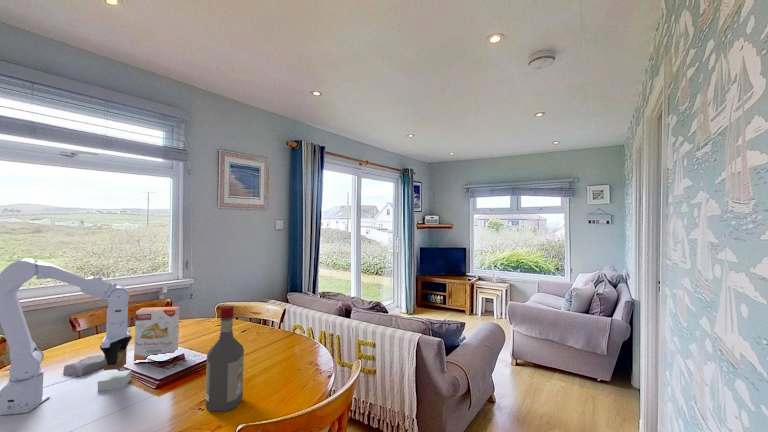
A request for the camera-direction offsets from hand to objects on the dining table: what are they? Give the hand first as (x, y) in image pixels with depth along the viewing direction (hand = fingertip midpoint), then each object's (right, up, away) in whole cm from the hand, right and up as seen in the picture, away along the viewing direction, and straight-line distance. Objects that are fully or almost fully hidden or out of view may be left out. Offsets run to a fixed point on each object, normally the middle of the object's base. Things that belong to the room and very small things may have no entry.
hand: (115, 361), depth 117 cm
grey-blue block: (0, -8, 0) cm, 8 cm away
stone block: (-21, -8, +12) cm, 25 cm away
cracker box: (0, -9, +21) cm, 23 cm away
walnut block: (0, -2, 0) cm, 2 cm away
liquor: (+43, -9, -11) cm, 45 cm away
